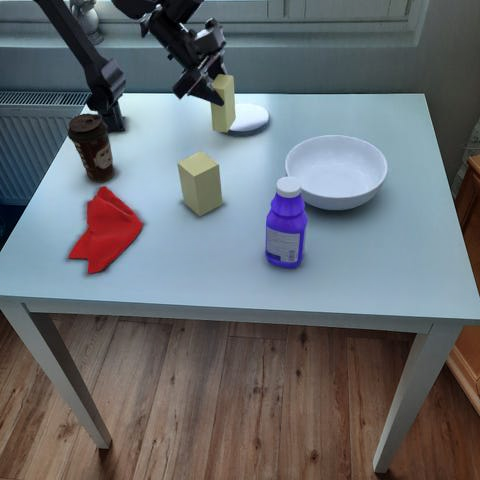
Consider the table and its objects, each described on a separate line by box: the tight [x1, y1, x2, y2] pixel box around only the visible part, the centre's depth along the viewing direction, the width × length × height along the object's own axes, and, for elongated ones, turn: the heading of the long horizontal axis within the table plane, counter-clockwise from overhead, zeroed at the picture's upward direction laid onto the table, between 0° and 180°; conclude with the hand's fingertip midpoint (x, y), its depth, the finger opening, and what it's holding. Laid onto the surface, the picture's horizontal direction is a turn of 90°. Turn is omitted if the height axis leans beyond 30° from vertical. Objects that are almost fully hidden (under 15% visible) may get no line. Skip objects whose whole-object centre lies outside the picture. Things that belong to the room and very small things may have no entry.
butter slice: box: [209, 74, 236, 133], centre depth 105 cm, size 4×6×10 cm, turn 161°
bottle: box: [264, 176, 308, 269], centre depth 83 cm, size 7×6×17 cm
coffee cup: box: [67, 112, 116, 183], centre depth 103 cm, size 9×8×13 cm
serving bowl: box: [284, 134, 389, 211], centre depth 99 cm, size 21×21×7 cm
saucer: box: [223, 102, 270, 138], centre depth 119 cm, size 13×13×2 cm
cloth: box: [67, 185, 144, 275], centre depth 96 cm, size 26×14×2 cm, turn 177°
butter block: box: [176, 150, 224, 217], centre depth 97 cm, size 6×6×10 cm
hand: (228, 97), depth 104 cm, fingers closed on butter slice, 6 cm apart
